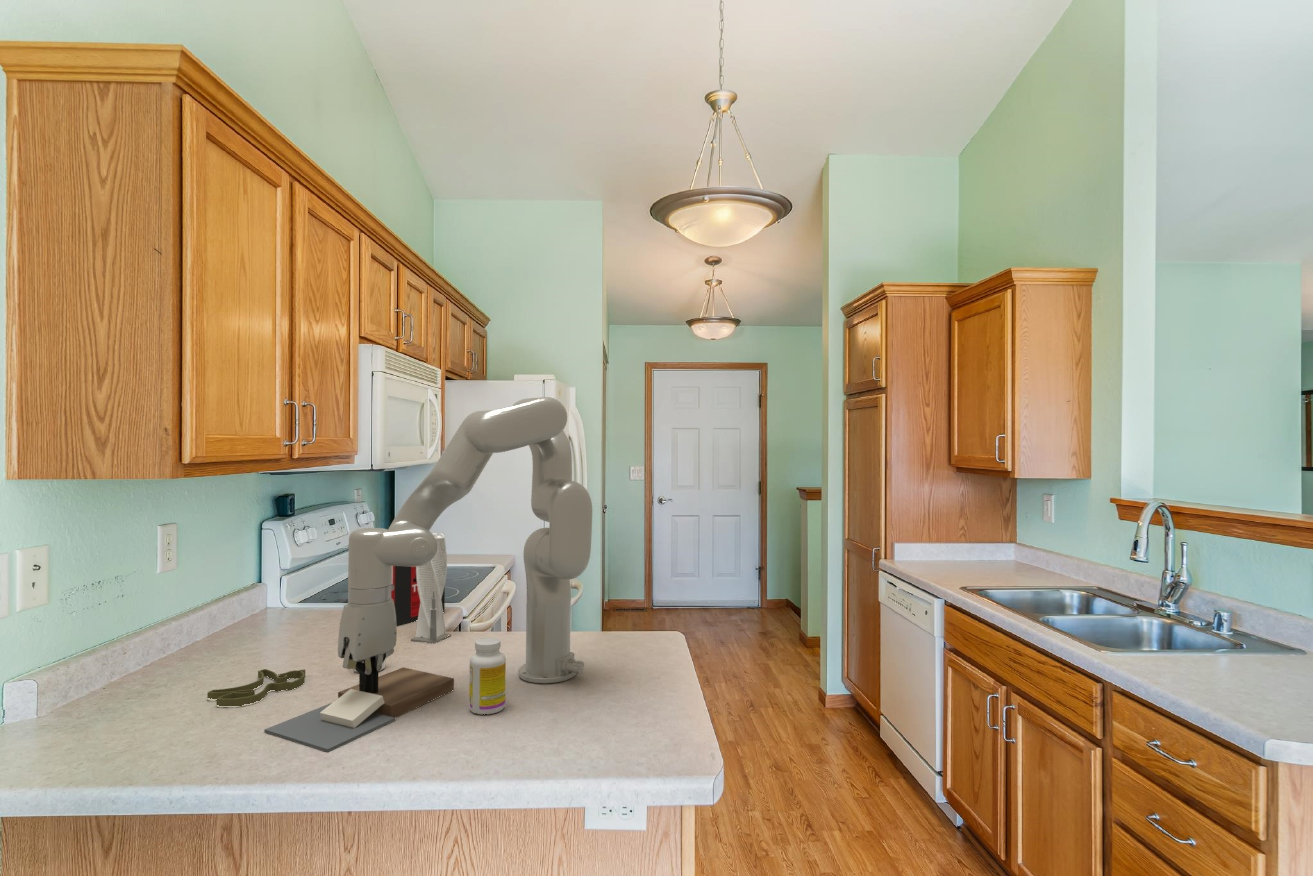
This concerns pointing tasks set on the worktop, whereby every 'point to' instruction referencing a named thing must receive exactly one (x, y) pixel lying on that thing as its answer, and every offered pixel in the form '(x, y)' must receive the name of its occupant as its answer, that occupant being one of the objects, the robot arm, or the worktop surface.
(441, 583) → the skyscraper
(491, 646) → the supplement bottle
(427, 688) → the brown wooden flat block
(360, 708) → the tile
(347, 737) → the mat
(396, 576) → the cleaning product box
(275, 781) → the worktop surface
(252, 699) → the cookie cutter
